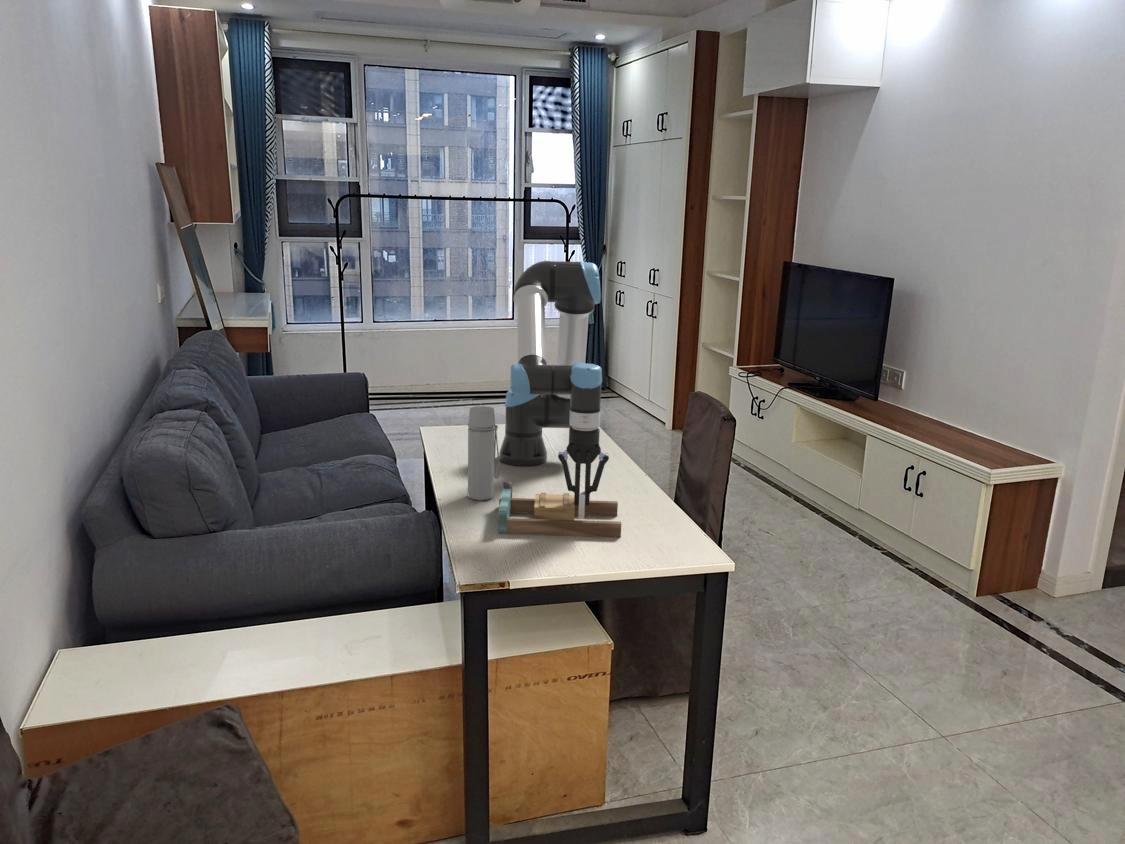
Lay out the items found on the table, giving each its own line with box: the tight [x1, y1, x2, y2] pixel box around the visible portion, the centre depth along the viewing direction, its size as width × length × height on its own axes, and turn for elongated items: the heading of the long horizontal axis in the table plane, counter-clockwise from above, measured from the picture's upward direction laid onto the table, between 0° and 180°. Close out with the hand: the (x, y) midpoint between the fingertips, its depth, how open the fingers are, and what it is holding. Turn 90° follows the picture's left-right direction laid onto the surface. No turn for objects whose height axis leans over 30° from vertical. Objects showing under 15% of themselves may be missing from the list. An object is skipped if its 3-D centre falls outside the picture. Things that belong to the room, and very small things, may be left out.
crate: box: [533, 492, 575, 520], centre depth 211 cm, size 10×10×6 cm
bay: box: [497, 480, 622, 538], centre depth 213 cm, size 20×31×7 cm, turn 90°
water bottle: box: [467, 405, 501, 502], centre depth 226 cm, size 9×8×25 cm
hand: (581, 516), depth 211 cm, fingers closed
